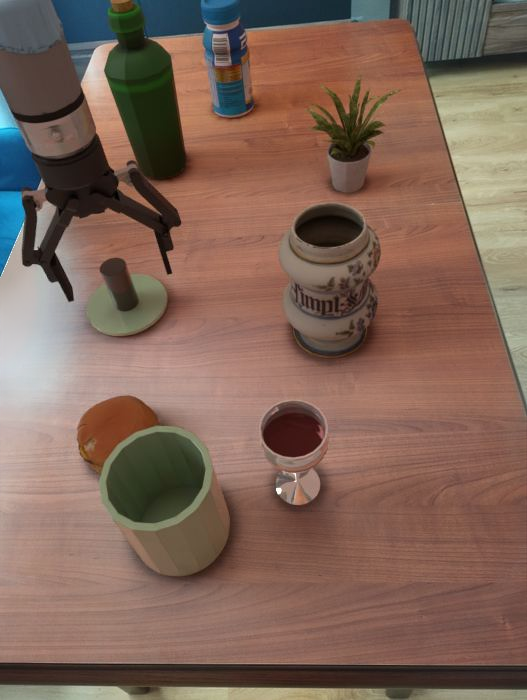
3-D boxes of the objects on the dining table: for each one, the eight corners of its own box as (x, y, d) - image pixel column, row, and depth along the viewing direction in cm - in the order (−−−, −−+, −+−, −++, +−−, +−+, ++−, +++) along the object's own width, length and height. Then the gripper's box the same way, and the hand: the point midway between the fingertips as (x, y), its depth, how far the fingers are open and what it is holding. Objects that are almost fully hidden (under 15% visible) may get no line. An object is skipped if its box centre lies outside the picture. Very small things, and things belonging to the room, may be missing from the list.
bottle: (200, 151, 108) (168, -17, 86) (182, 187, 101) (142, 15, 79) (146, 148, 110) (101, -17, 88) (126, 183, 104) (72, 14, 82)
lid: (72, 323, 83) (51, 282, 77) (121, 271, 89) (105, 229, 83) (137, 349, 79) (121, 308, 73) (184, 292, 85) (172, 250, 79)
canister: (115, 548, 62) (76, 499, 52) (169, 468, 68) (142, 410, 58) (197, 594, 58) (171, 551, 49) (247, 506, 64) (233, 451, 54)
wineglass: (255, 478, 66) (244, 422, 56) (303, 446, 68) (299, 387, 59) (291, 525, 62) (285, 473, 53) (341, 489, 64) (343, 433, 55)
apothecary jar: (308, 287, 84) (304, 181, 70) (388, 312, 80) (401, 204, 66) (269, 347, 77) (256, 244, 63) (354, 377, 73) (360, 274, 59)
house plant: (375, 147, 104) (381, 54, 91) (410, 191, 95) (423, 95, 82) (299, 167, 102) (295, 75, 89) (329, 214, 93) (329, 119, 81)
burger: (178, 424, 71) (170, 403, 68) (138, 490, 66) (127, 472, 63) (111, 400, 74) (100, 379, 71) (68, 462, 69) (53, 442, 66)
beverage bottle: (204, 109, 117) (185, 1, 101) (236, 92, 120) (222, -15, 104) (231, 124, 113) (216, 13, 97) (263, 106, 116) (253, -4, 100)
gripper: (-55, 189, 60) (30, 325, 76) (182, 131, 62) (214, 274, 79) (-51, 151, 64) (27, 287, 81) (168, 98, 67) (201, 240, 84)
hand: (119, 281), depth 80 cm, fingers open, 13 cm apart
